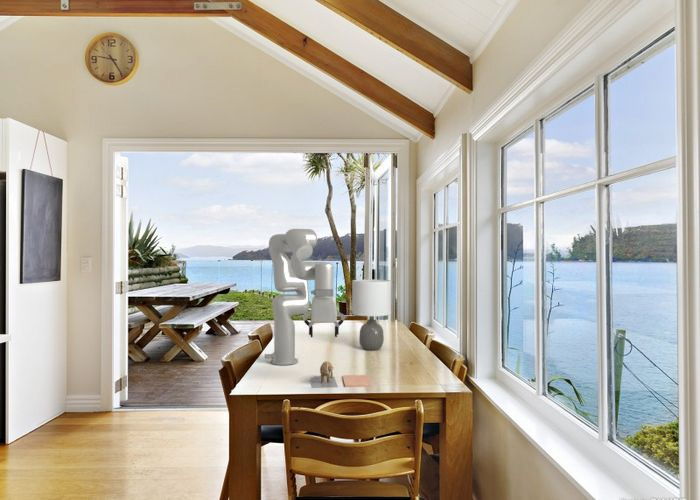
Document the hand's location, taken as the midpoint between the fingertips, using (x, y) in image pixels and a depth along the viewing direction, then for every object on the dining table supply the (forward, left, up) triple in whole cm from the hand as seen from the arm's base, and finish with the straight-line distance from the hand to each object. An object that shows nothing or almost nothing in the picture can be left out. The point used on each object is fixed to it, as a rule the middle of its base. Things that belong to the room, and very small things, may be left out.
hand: (323, 336), depth 198 cm
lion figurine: (+2, +1, -18) cm, 18 cm away
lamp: (+28, +67, -18) cm, 75 cm away
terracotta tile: (+13, 0, -19) cm, 23 cm away
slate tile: (0, 0, -19) cm, 19 cm away
